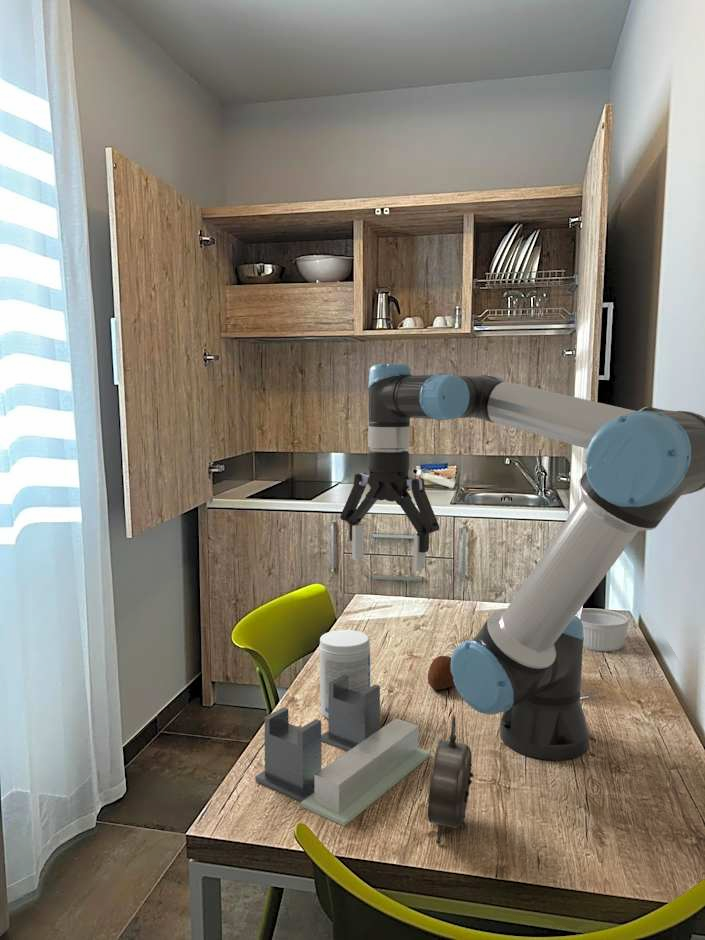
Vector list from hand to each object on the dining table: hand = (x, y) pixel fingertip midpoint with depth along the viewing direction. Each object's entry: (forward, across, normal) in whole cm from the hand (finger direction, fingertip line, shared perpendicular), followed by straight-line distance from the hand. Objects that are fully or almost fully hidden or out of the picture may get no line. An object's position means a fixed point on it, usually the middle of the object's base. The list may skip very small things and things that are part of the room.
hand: (387, 563), depth 131 cm
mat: (+29, -11, +21) cm, 37 cm away
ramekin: (+29, -21, -61) cm, 71 cm away
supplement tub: (+29, +6, +5) cm, 30 cm away
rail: (+28, -11, +21) cm, 37 cm away
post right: (+29, -2, +13) cm, 32 cm away
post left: (+29, -2, +29) cm, 41 cm away
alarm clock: (+29, -27, +24) cm, 46 cm away
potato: (+29, -3, -17) cm, 34 cm away
